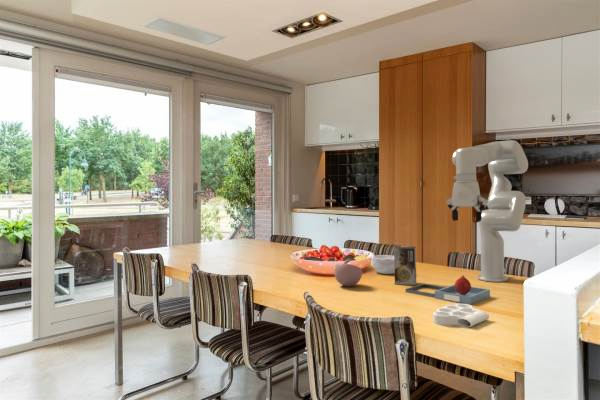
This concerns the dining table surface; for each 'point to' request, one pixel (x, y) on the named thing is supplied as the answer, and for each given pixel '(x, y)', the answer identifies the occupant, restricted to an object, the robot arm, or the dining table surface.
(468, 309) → the white multi-well holder
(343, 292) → the dining table surface
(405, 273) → the coffee box
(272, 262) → the dining table surface
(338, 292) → the dining table surface
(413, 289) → the bracket
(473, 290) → the tray
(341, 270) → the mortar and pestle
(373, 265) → the paper bowls
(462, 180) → the robot arm
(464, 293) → the onion
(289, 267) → the dining table surface
